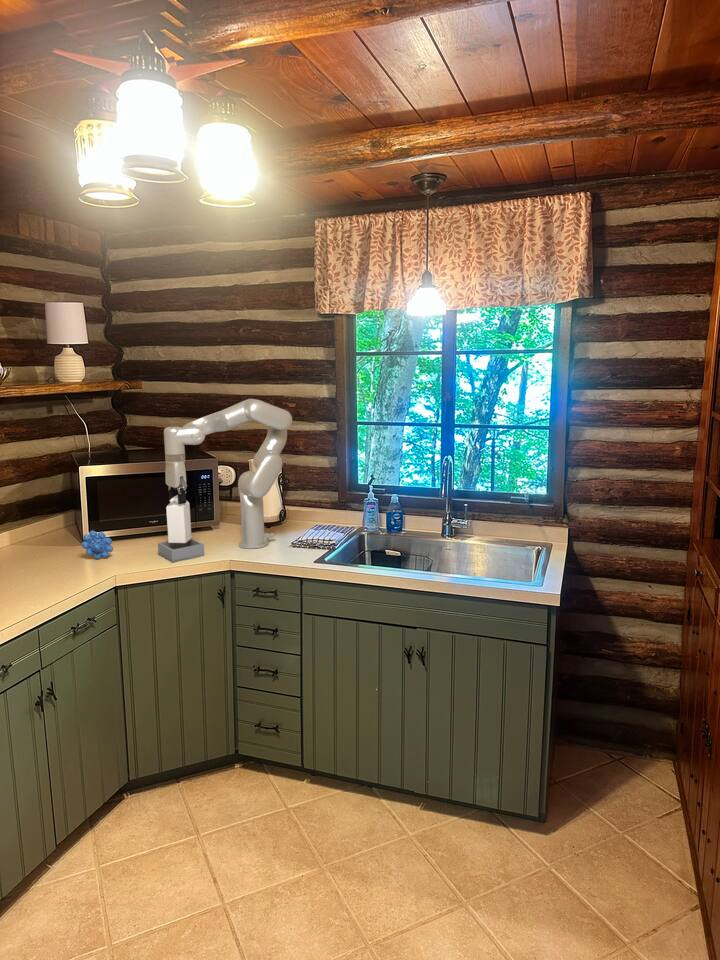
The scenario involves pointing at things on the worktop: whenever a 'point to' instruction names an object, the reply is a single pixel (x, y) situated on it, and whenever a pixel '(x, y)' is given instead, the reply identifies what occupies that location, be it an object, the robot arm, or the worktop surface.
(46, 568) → the worktop surface
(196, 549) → the bin
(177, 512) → the milk carton
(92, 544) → the grapes
